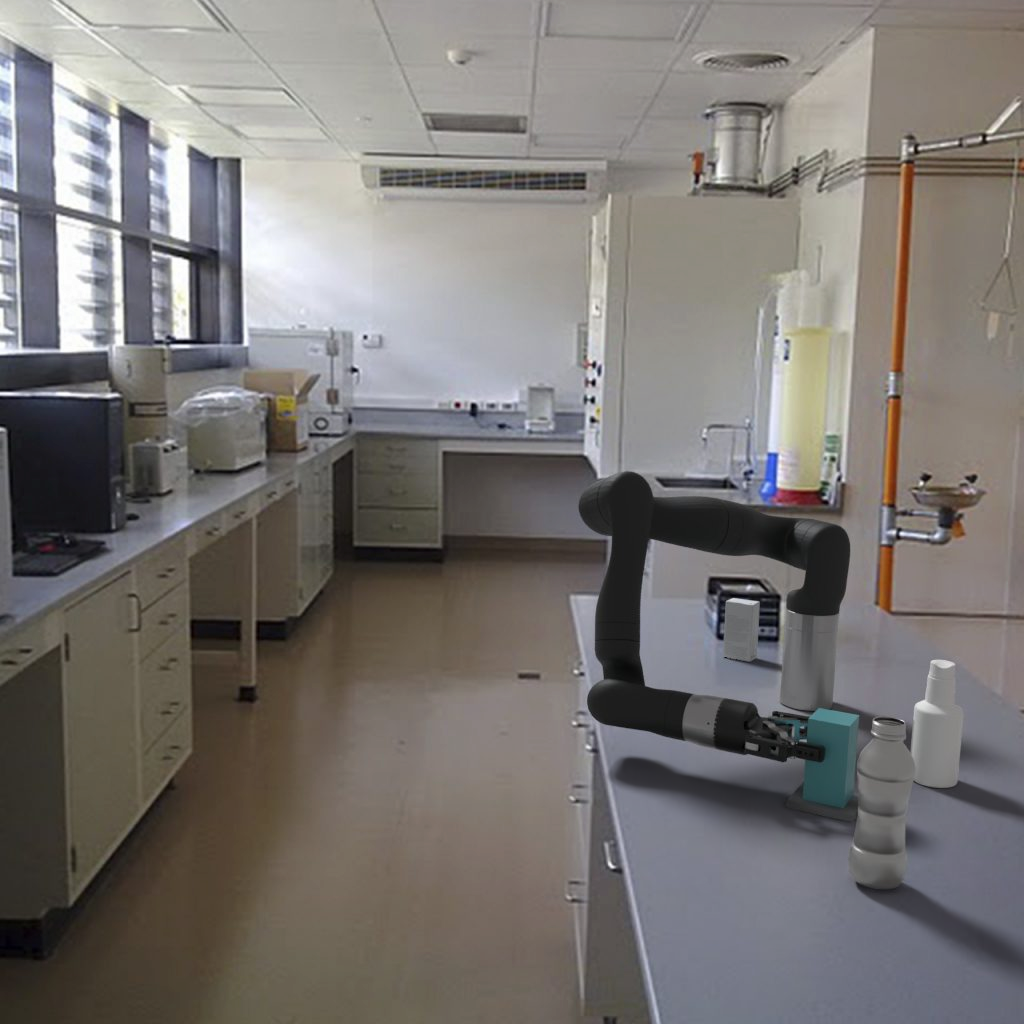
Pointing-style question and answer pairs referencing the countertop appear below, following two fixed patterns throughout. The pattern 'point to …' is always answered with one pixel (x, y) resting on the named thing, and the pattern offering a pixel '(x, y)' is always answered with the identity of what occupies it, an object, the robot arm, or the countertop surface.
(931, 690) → the spray bottle
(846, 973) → the countertop surface
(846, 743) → the teal pillar
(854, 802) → the post
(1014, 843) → the countertop surface
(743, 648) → the skincare box
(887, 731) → the plastic bottle
